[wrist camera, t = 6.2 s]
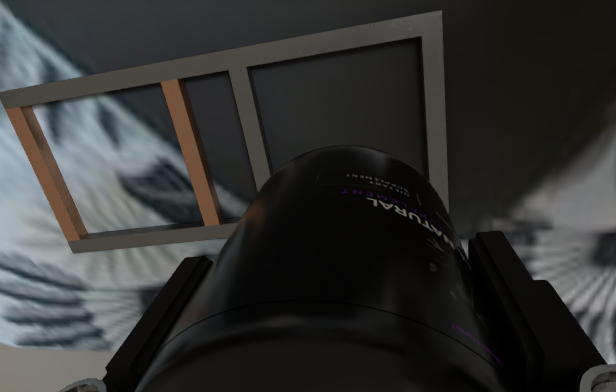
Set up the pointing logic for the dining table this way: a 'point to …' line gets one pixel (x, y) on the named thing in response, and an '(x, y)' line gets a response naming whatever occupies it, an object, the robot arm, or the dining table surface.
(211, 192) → the rectangular frame
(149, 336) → the robot arm
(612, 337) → the dining table surface
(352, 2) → the dining table surface
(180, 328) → the supplement bottle
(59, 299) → the dining table surface
